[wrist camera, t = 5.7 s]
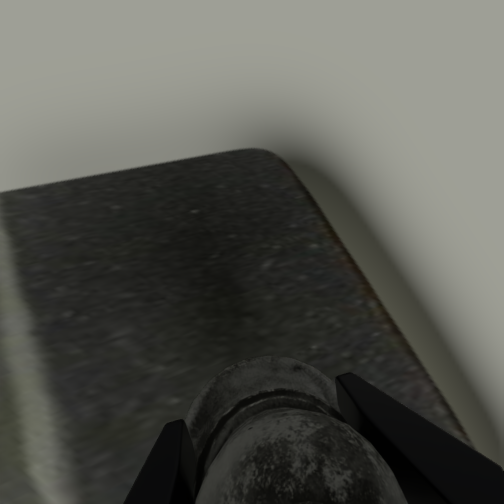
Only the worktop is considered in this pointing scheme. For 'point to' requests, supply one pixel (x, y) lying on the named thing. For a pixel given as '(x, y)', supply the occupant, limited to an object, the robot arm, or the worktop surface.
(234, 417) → the dark chess piece
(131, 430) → the worktop surface
